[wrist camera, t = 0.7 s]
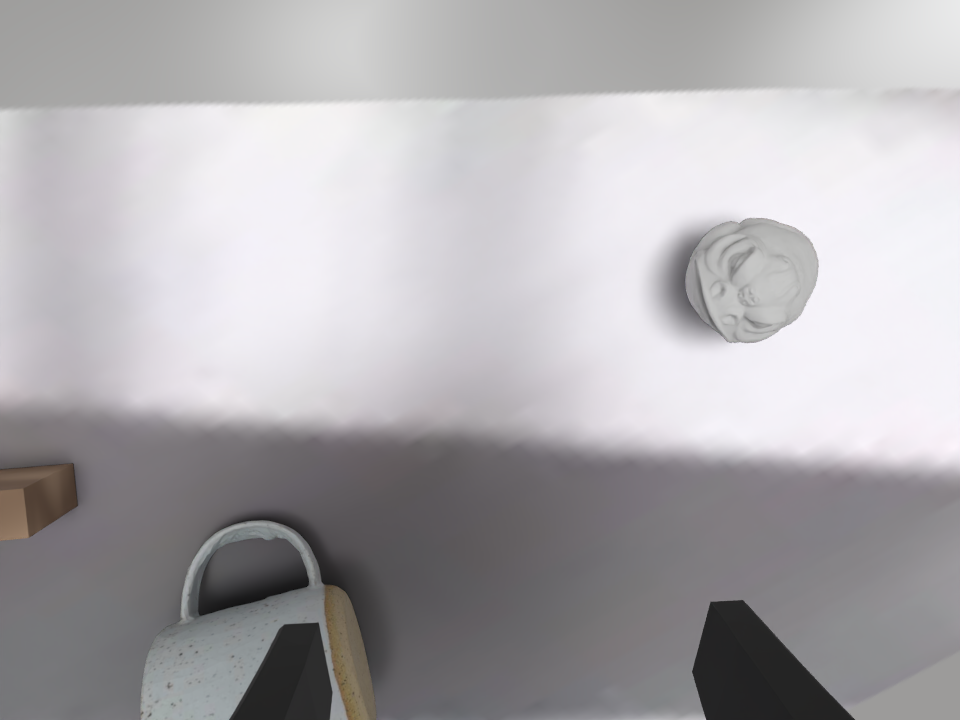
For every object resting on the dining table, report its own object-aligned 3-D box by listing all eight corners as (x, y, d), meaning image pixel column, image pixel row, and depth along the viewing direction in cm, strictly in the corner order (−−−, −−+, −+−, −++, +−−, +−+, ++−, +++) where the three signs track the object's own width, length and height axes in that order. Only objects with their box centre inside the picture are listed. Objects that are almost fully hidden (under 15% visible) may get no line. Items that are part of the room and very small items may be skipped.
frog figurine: (629, 260, 31) (701, 245, 25) (738, 206, 32) (837, 177, 26) (672, 362, 32) (753, 375, 26) (777, 307, 33) (882, 305, 26)
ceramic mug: (382, 681, 31) (387, 796, 23) (222, 739, 29) (171, 882, 22) (325, 489, 30) (309, 546, 22) (155, 542, 28) (77, 620, 21)
